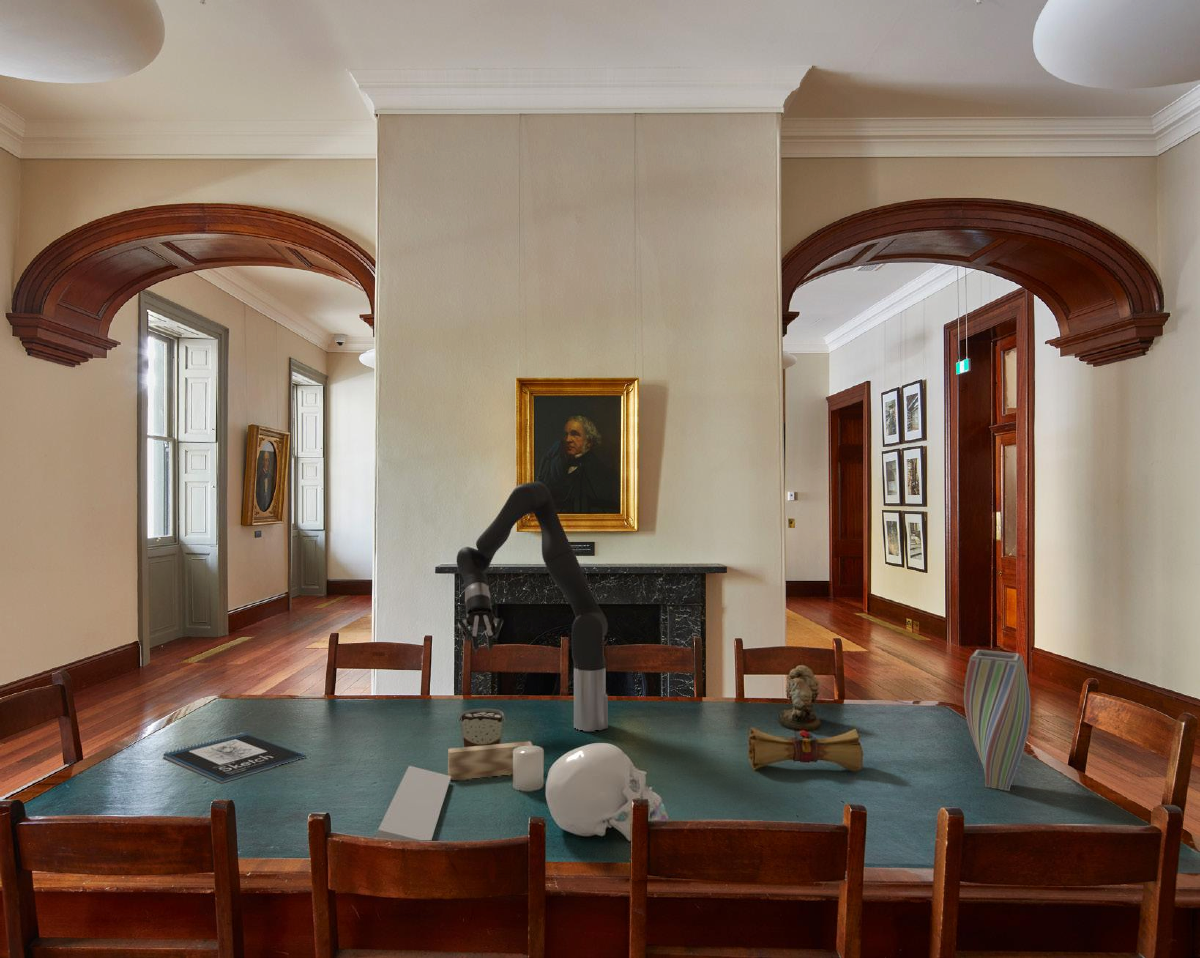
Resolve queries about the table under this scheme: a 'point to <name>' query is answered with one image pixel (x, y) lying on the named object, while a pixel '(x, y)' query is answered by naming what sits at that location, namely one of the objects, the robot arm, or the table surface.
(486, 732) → the food container
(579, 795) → the white human skull
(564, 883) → the table surface
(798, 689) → the stone bust statue
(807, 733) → the scroll
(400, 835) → the grey long flat block
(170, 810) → the table surface
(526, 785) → the glossy white cylinder
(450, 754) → the light wooden block
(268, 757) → the sketchbook
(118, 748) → the table surface
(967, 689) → the vase
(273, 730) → the table surface
